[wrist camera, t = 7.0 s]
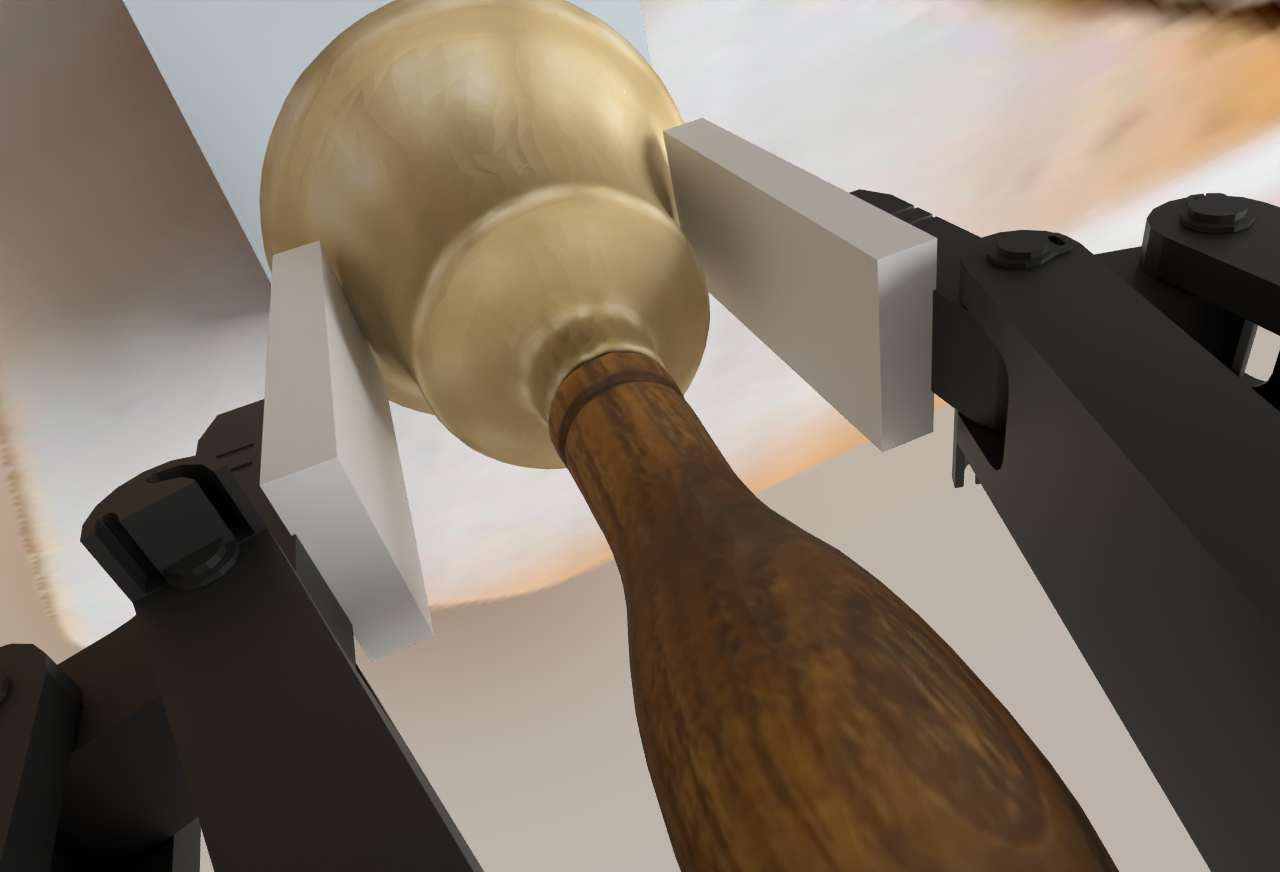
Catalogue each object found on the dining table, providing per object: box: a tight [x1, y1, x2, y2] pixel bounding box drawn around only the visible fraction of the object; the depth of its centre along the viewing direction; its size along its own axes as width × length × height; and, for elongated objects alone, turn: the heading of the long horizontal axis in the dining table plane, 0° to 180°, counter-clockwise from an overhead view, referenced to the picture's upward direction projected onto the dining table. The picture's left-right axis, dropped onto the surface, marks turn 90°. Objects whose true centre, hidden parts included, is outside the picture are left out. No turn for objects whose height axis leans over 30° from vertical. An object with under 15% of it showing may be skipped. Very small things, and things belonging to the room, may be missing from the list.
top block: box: [123, 0, 651, 283], centre depth 24 cm, size 12×12×4 cm
